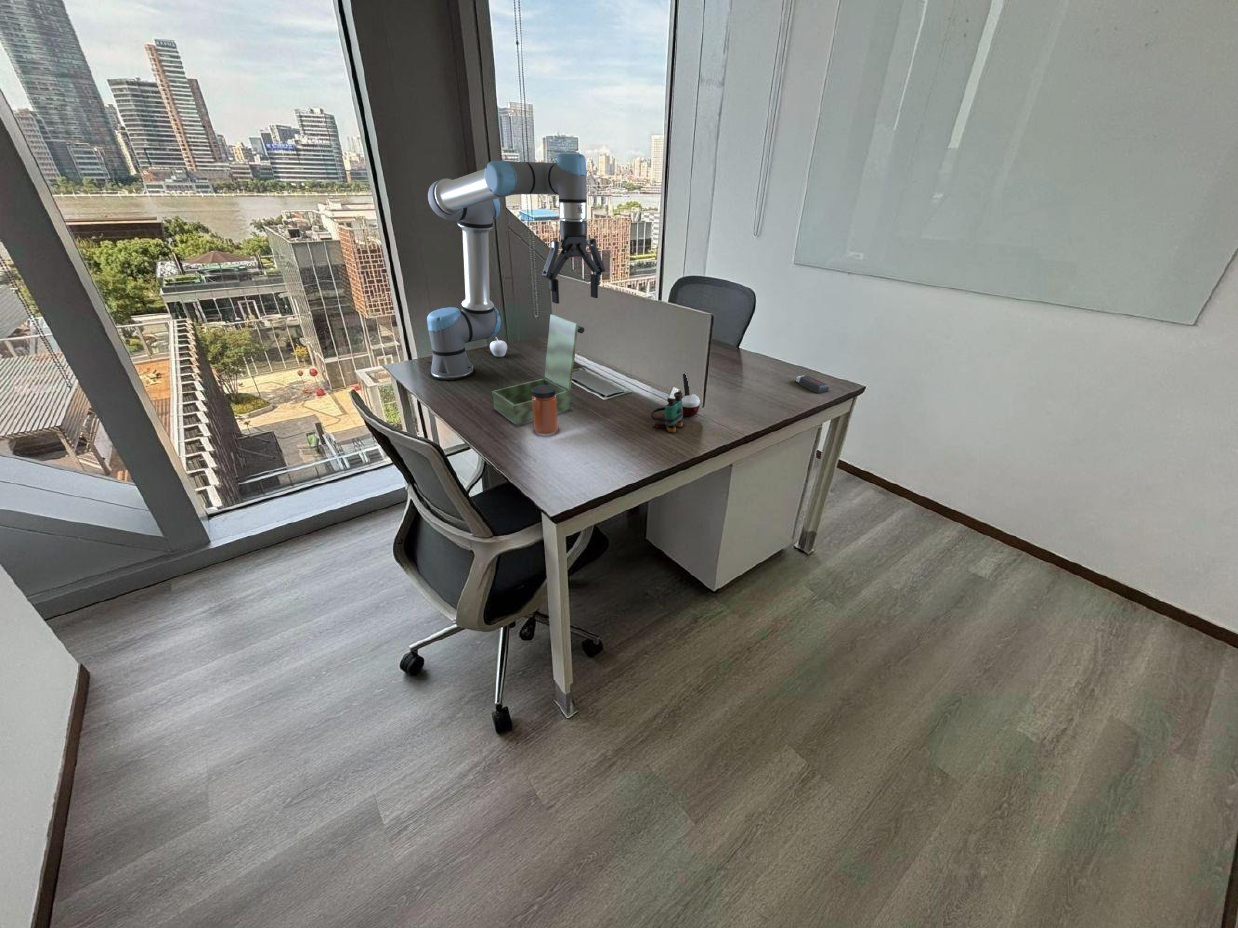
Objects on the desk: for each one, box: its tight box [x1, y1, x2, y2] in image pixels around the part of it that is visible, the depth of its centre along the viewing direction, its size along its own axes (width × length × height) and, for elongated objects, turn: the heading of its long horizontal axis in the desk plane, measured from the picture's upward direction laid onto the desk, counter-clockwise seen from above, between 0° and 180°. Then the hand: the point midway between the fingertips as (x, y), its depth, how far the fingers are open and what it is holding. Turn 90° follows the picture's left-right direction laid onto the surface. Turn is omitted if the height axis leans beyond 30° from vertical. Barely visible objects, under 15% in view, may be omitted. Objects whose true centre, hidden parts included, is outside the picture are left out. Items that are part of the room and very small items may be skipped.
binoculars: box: [650, 391, 684, 433], centre depth 147 cm, size 9×11×10 cm
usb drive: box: [795, 375, 830, 394], centre depth 179 cm, size 5×12×3 cm, turn 25°
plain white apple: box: [489, 336, 508, 358], centre depth 203 cm, size 7×7×8 cm
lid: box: [544, 313, 585, 391], centre depth 157 cm, size 20×15×6 cm
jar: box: [532, 385, 559, 435], centre depth 142 cm, size 7×7×13 cm
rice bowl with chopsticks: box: [681, 373, 701, 418], centre depth 154 cm, size 10×6×12 cm, turn 173°
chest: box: [491, 377, 571, 425], centre depth 156 cm, size 20×15×7 cm
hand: (575, 300), depth 144 cm, fingers open, 13 cm apart
